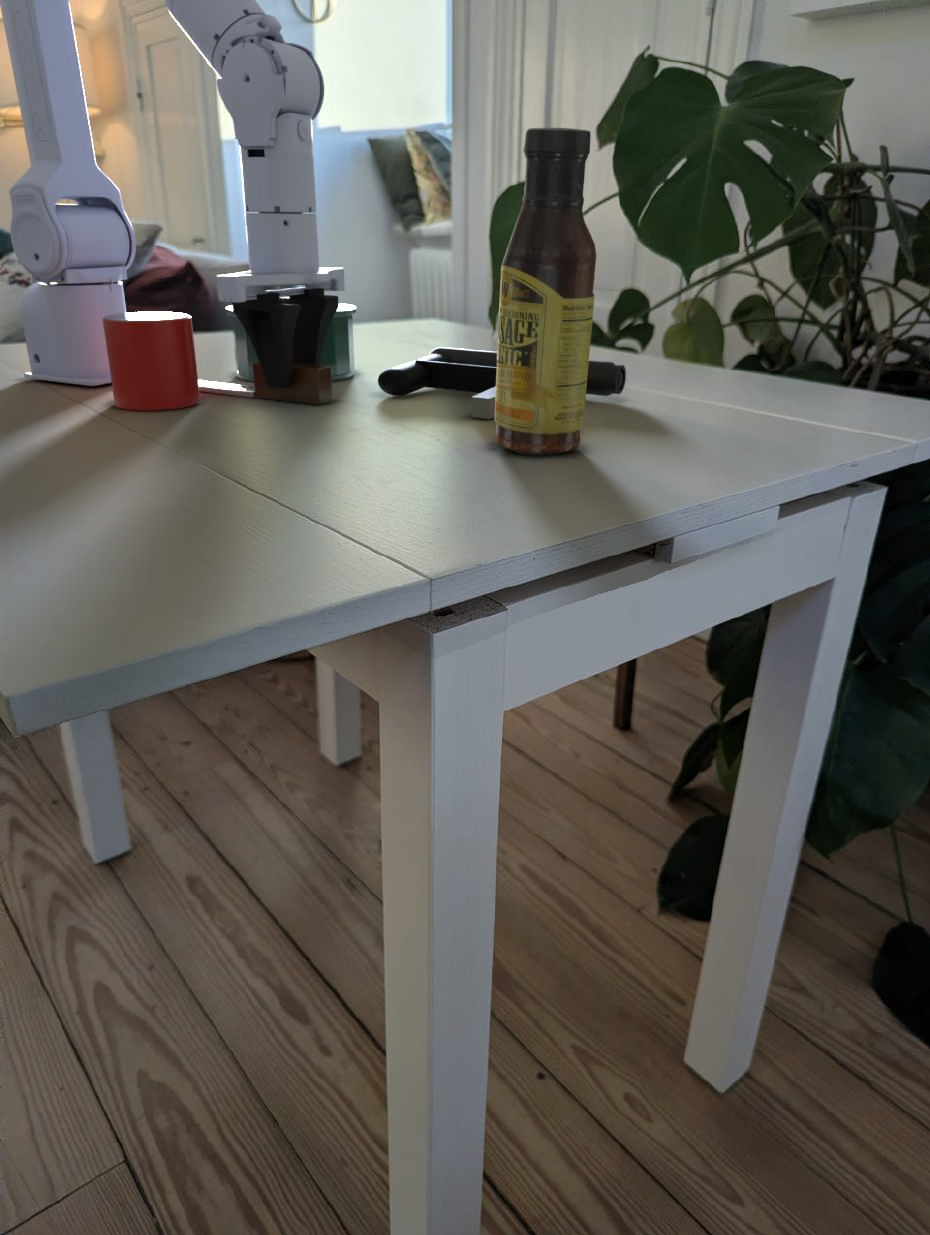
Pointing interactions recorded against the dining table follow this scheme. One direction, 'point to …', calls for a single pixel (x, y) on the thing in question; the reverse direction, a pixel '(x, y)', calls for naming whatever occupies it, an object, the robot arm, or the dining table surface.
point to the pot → (333, 354)
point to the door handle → (480, 376)
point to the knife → (305, 388)
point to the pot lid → (341, 311)
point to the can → (152, 360)
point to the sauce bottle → (546, 301)
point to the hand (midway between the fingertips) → (292, 384)
